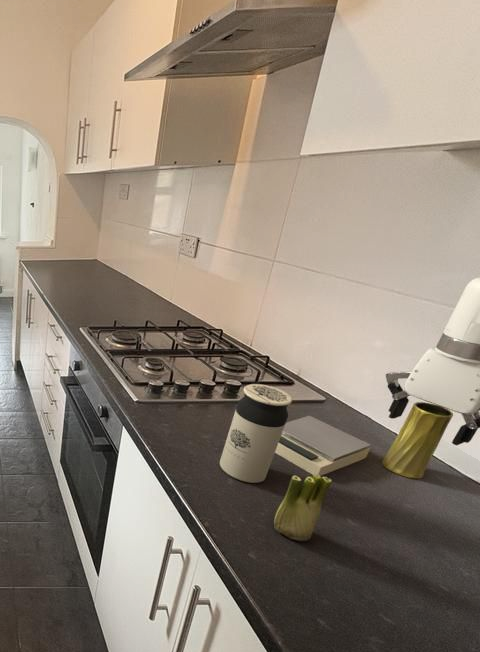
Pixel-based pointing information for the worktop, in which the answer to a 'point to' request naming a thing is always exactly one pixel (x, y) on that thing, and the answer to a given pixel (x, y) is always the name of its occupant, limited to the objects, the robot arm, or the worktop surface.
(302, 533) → the fennel bulb
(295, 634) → the worktop surface
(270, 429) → the travel mug
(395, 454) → the vase
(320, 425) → the gray slab
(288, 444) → the scale
